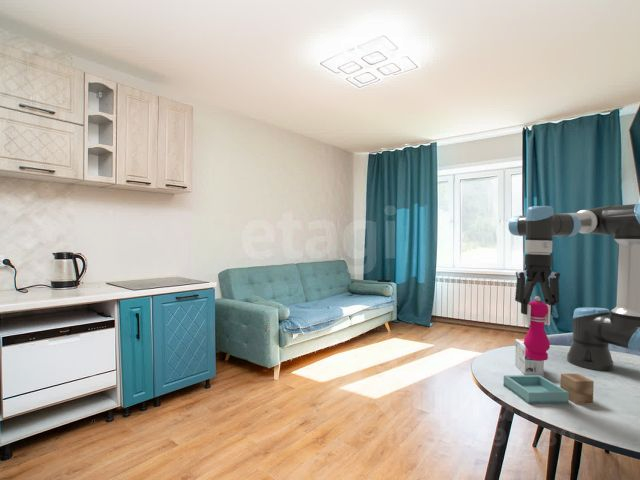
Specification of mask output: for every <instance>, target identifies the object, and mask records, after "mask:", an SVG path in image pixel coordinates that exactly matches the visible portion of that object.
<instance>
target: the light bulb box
mask: <svg viewBox="0 0 640 480" xmlns="http://www.w3.org/2000/svg"><path fill="white" fill-rule="evenodd" d="M526 349H527V348H526V347H525V345H524V339H520V338H519V339H518V338H516V339H515V353H514V354H515V355H514V357H515V358H514V359H515V361H514V362H515V363H514V365H515V366H516V367H517V369H518V370H519V371H520V372H521V373H522V374H523V375H540V376H542V377H544V374H545V373H544V370H545V369H544V368H545V367H544V366H545V365H544V363H545V362H544V361H545V360H542V361H541V360H534V359H531V358H528V357H526V356H525V350H526Z"/></svg>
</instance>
